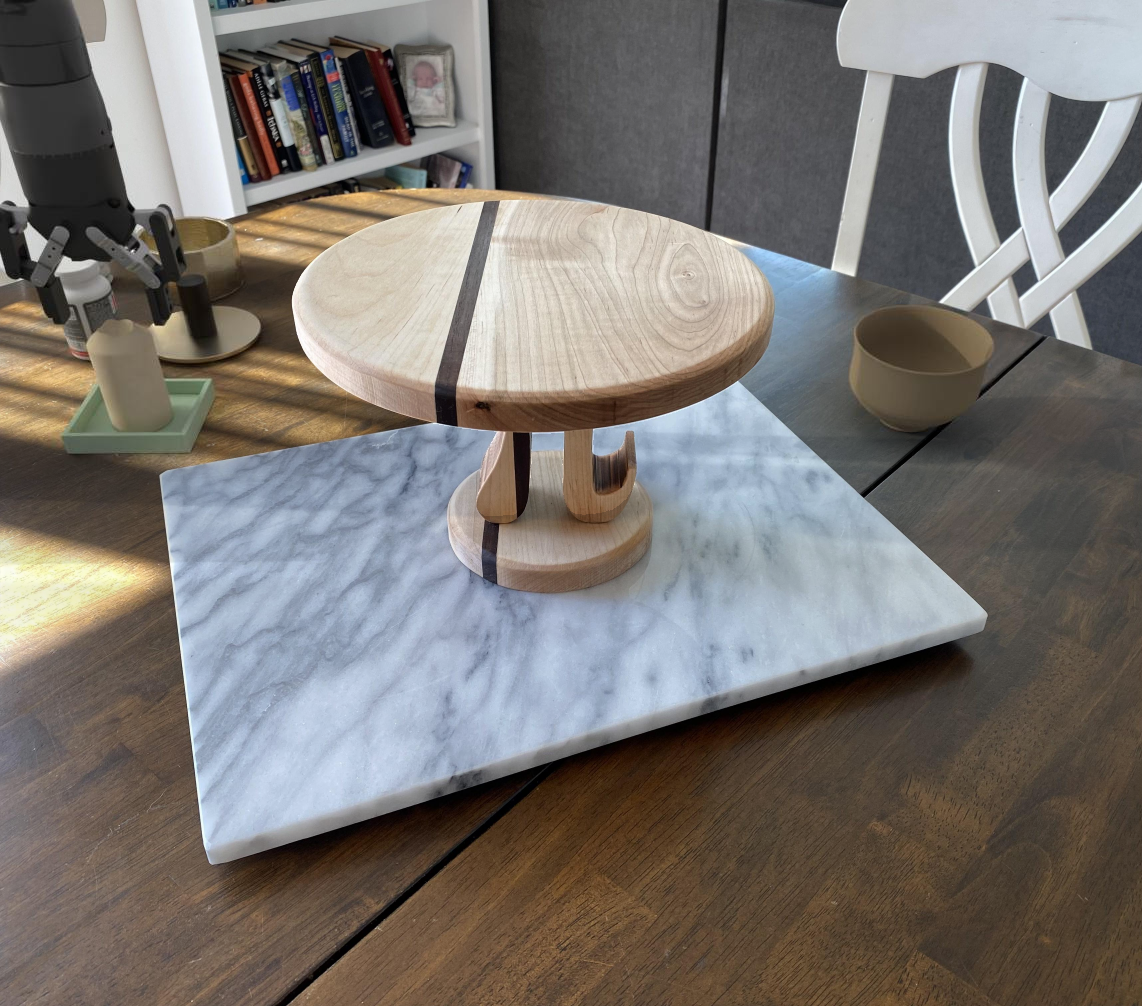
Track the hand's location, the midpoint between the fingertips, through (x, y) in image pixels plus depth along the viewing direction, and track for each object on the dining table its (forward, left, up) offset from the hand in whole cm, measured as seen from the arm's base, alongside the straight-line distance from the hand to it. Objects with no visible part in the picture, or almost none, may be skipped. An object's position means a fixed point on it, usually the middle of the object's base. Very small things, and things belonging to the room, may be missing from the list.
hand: (113, 321), depth 83 cm
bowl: (+74, -1, -11) cm, 75 cm away
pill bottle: (-9, +14, -11) cm, 20 cm away
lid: (+2, +16, -10) cm, 19 cm away
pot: (-3, +30, -11) cm, 32 cm away
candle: (0, -1, -10) cm, 10 cm away
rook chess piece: (-15, +30, -11) cm, 35 cm away
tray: (0, 0, -11) cm, 11 cm away
